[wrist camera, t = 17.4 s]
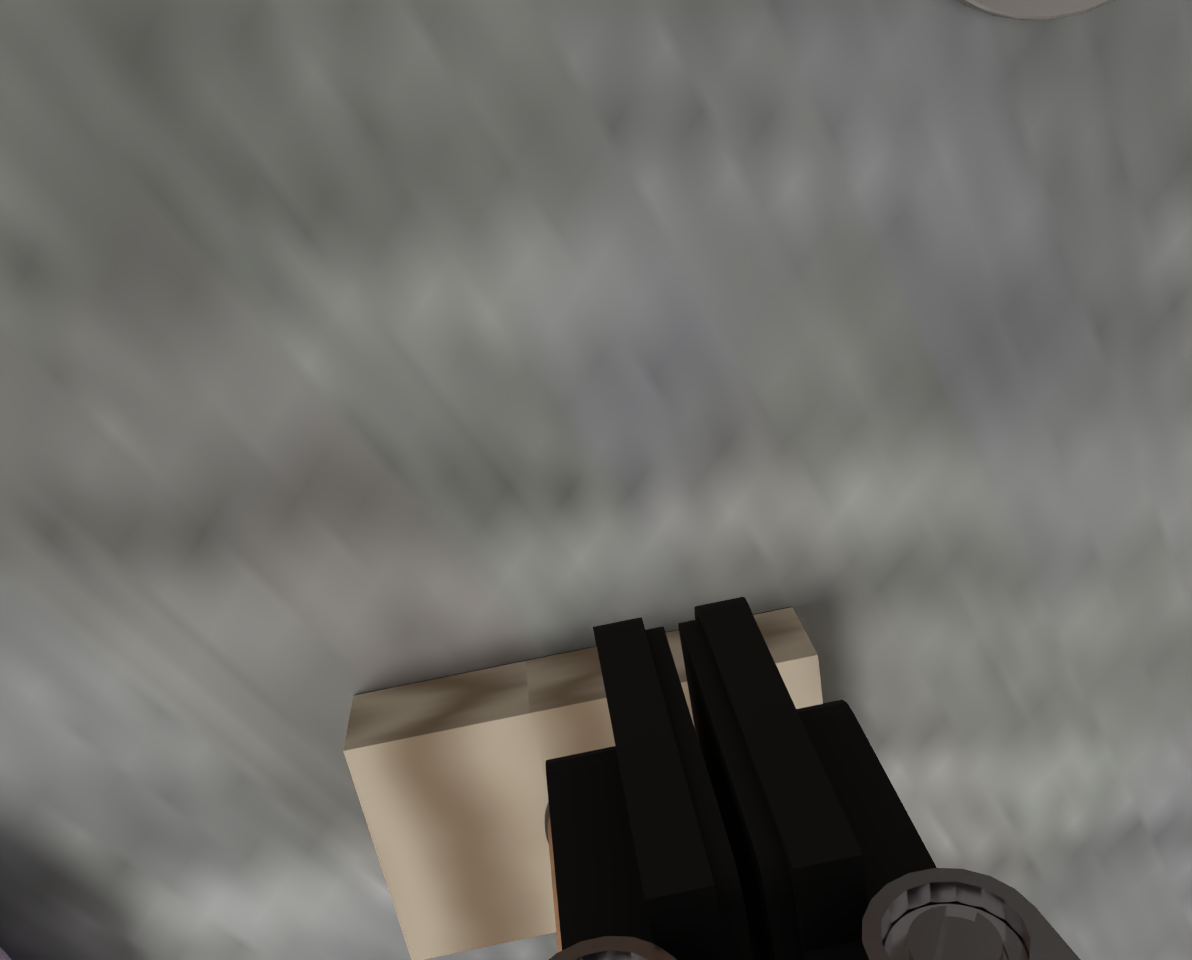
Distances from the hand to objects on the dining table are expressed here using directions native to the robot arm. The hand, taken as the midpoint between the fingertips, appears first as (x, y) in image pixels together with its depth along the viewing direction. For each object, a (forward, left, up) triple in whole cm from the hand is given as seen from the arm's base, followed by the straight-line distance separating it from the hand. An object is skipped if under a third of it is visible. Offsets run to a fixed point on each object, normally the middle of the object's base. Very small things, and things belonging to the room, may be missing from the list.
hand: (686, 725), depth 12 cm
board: (+2, +25, -32) cm, 41 cm away
